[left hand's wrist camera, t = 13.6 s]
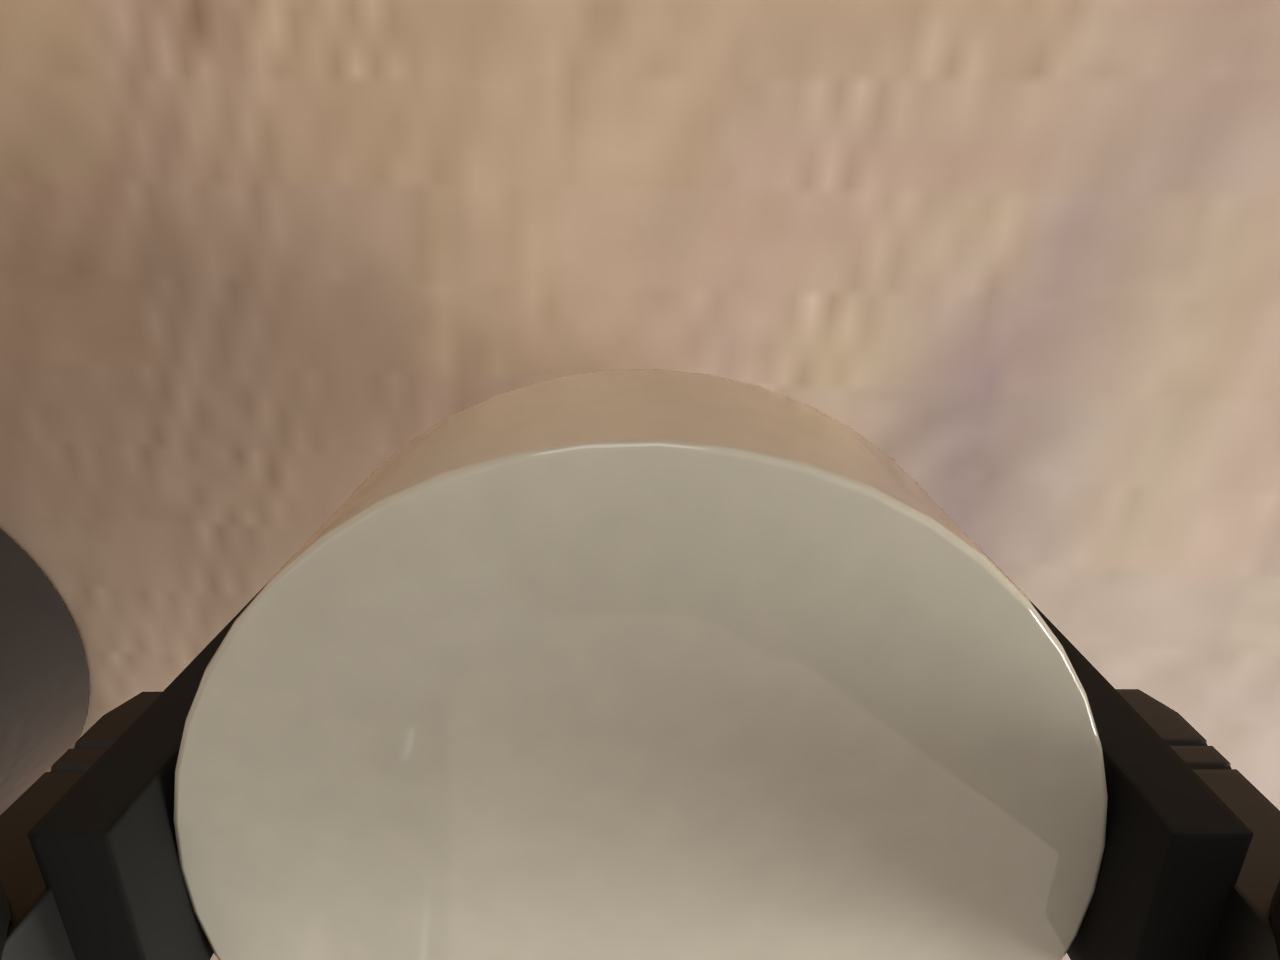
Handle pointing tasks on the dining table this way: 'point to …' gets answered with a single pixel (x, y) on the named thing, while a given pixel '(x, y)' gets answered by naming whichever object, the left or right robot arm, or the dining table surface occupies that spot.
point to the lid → (640, 706)
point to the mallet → (35, 674)
